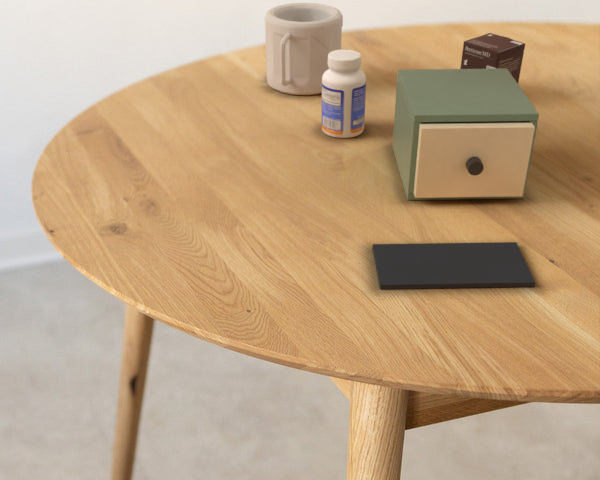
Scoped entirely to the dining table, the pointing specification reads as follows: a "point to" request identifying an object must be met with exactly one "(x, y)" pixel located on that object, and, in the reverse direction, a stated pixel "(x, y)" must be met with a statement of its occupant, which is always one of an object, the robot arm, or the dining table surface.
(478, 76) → the cabinet
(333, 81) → the pill bottle
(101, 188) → the dining table surface
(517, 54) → the box
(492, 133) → the drawer
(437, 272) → the mat
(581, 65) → the dining table surface
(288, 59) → the mug
